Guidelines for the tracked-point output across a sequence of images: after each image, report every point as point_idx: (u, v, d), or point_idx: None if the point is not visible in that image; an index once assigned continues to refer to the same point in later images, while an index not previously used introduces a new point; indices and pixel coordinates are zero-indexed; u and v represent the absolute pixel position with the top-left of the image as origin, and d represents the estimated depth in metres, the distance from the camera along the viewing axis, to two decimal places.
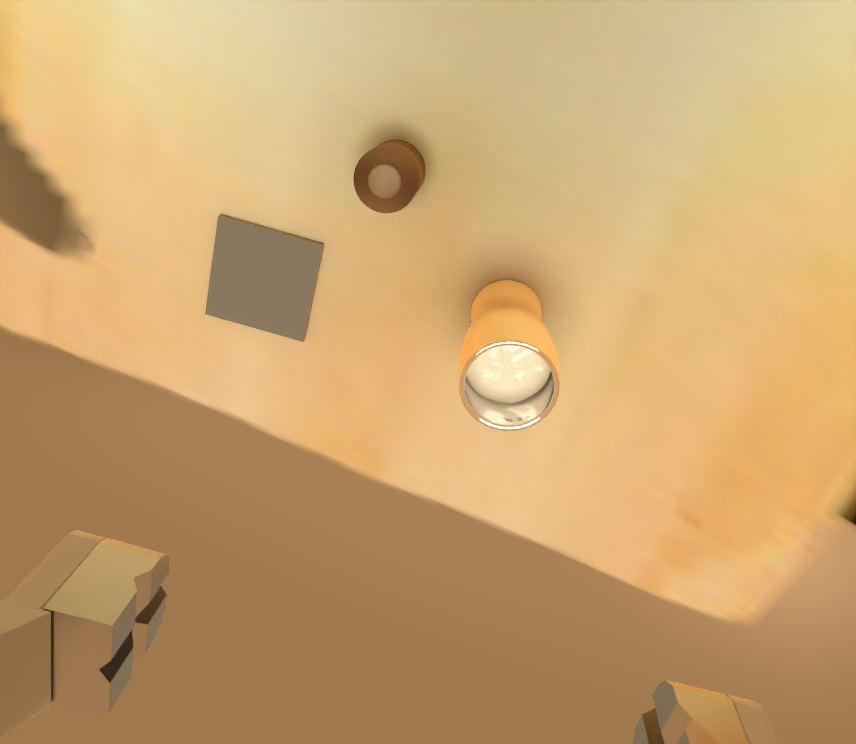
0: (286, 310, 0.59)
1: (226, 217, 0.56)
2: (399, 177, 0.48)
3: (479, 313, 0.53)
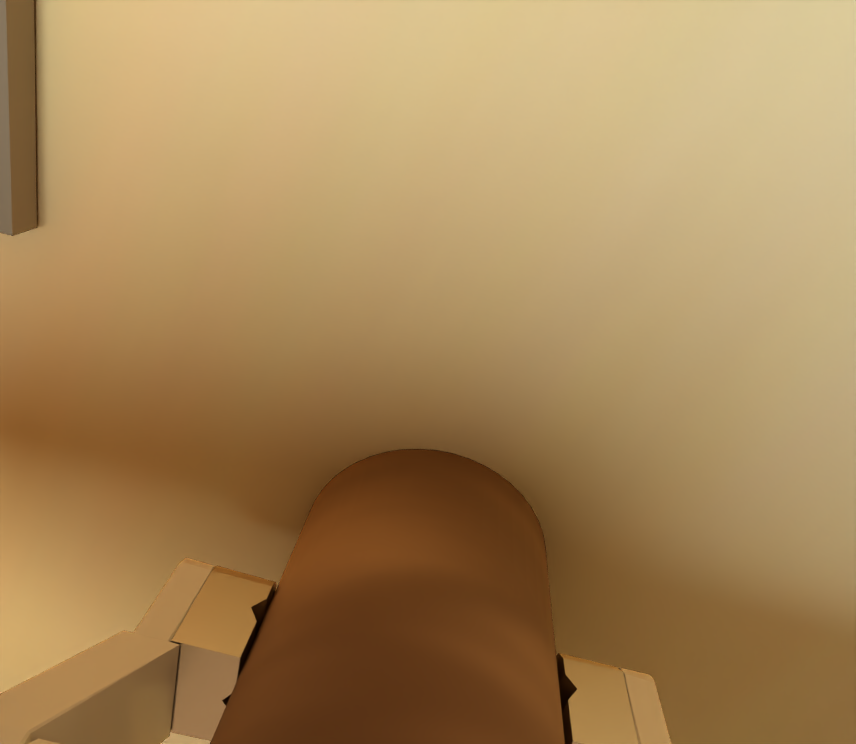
0: None
1: None
2: None
3: None
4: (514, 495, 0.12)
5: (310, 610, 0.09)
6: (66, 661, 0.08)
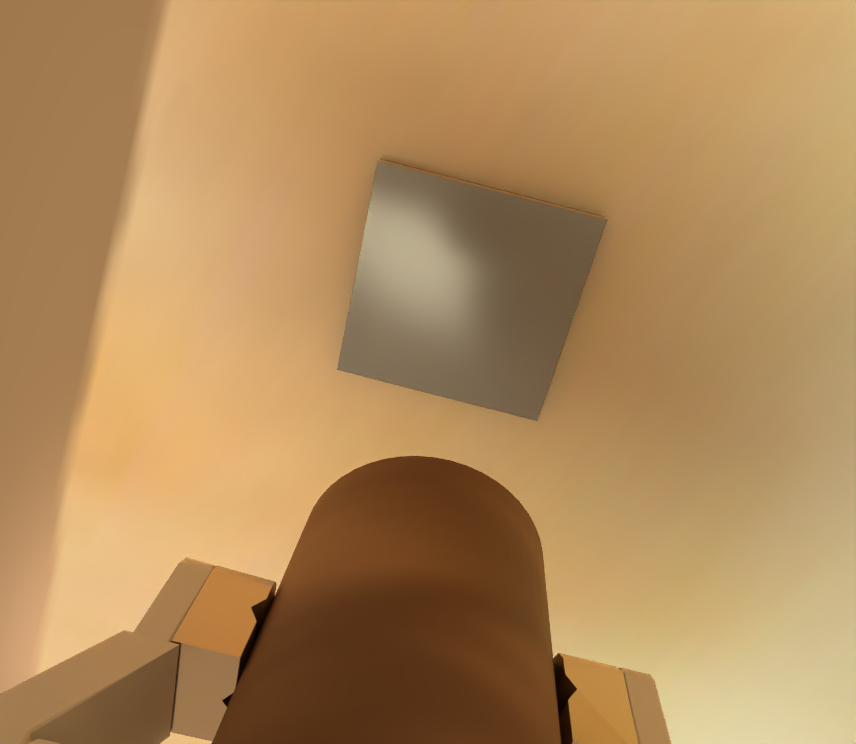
0: (401, 343, 0.28)
1: (600, 234, 0.26)
2: None
3: None
4: (511, 501, 0.12)
5: (310, 616, 0.09)
6: (66, 661, 0.08)
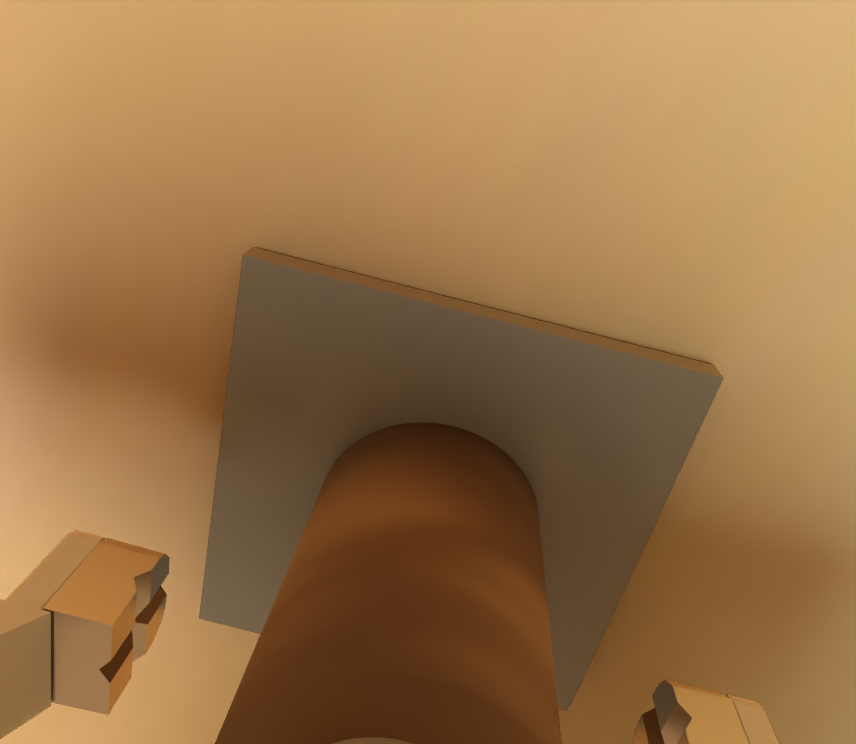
0: None
1: (706, 402, 0.13)
2: None
3: None
4: (509, 463, 0.13)
5: (333, 554, 0.10)
6: None
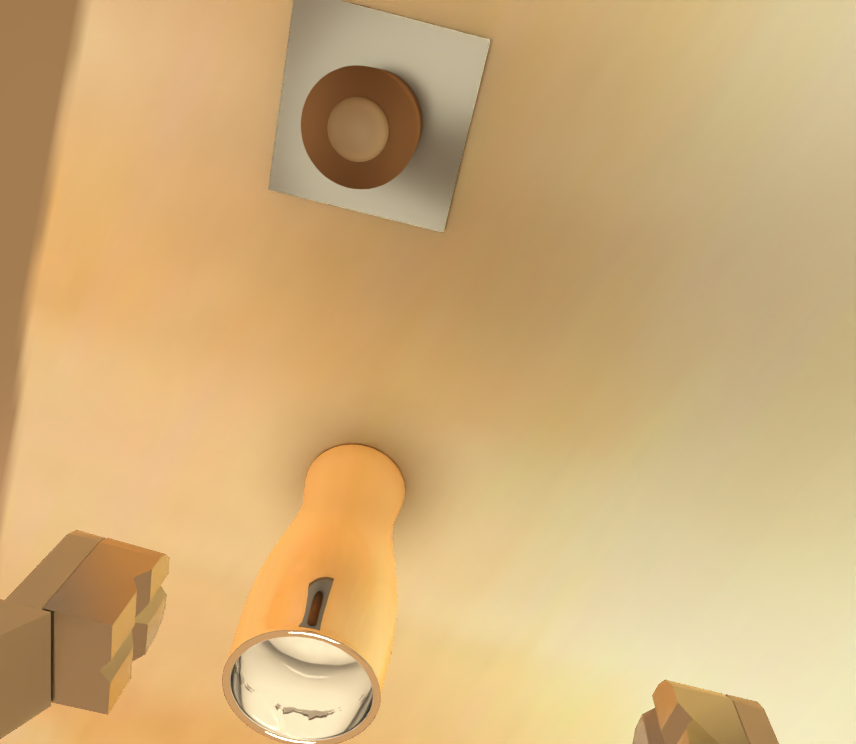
0: None
1: (486, 54, 0.31)
2: (366, 159, 0.26)
3: (367, 499, 0.36)
4: (408, 85, 0.31)
5: None
6: None
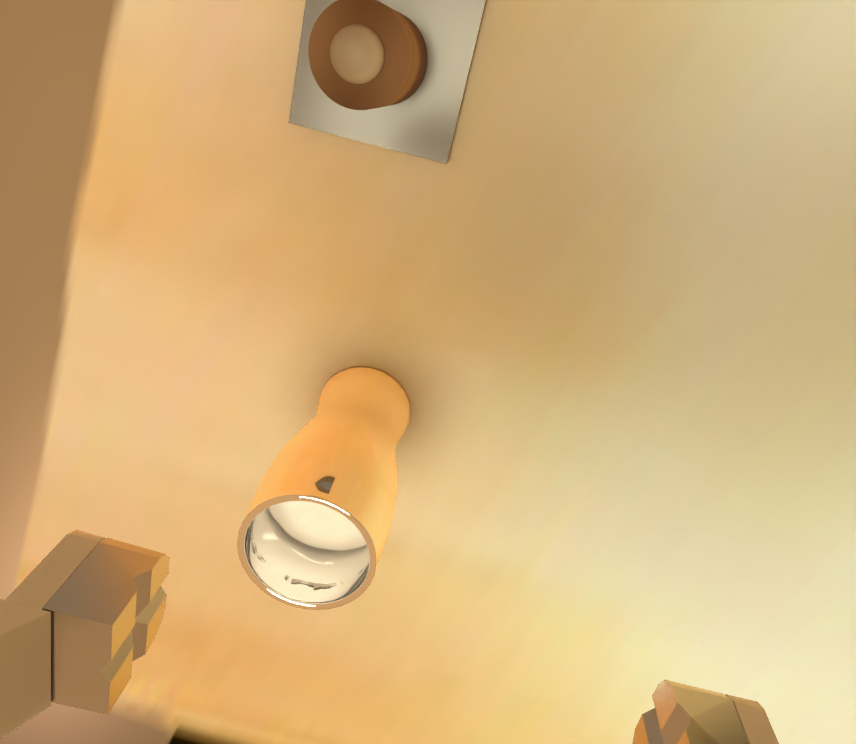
0: None
1: None
2: (363, 81, 0.30)
3: (373, 409, 0.39)
4: None
5: None
6: None
